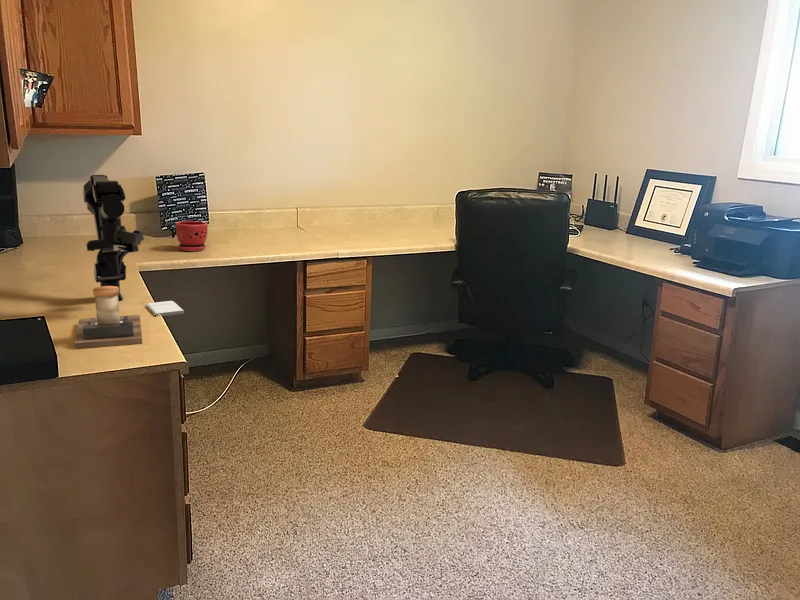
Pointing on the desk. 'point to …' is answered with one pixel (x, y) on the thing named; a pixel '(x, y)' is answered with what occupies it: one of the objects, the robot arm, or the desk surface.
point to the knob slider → (107, 304)
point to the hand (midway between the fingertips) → (116, 275)
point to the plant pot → (191, 235)
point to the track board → (109, 341)
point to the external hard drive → (165, 308)
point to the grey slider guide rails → (108, 330)
